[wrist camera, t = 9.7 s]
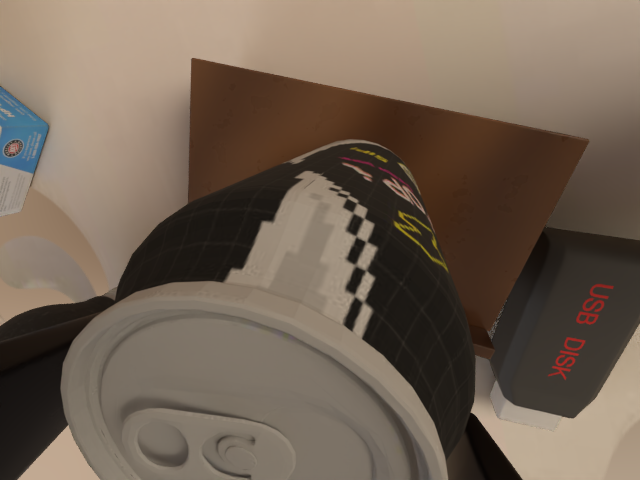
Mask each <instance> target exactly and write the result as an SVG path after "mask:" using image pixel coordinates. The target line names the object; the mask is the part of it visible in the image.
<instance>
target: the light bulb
mask: <svg viewBox="0 0 640 480" xmlns="http://www.w3.org/2000/svg"><path fill="white" fill-rule="evenodd" d="M117 288H118V287H116V288H114V289H112V290H110V291H109V292H107V293H105V294H104V295H102V296H98V297H94V298H92V299H89V300H87V301H84V302H79V303H72V304H58V305H49V306H43V307H39V308H35V309H32V310H29V311H27V312H24V313H21V314H19V315H17V316H15V317H13V318H12V319H10V320H9V321H7V322H6V323H4V324H3V325H1V326H0V342H1V341H4V340H7V339H11V338H14V337H18V336H21V335H24V334H28V333H31V332H35V331H38V330H41V329H45V328H48V327H51V326H55V325H58V324H62V323H65V322H68V321H72V320H75V319H78V318H82V317H85V316H89V315H92V314H95V313H99V312H102V311H105V310H106V309H108V308H109V307H111V306H113V305H114V302H115V297H116V291H117Z"/></svg>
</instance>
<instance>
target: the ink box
mask: <svg viewBox="0 0 640 480" xmlns="http://www.w3.org/2000/svg"><path fill="white" fill-rule="evenodd" d="M48 129H49V126H48V124H47V123H46V122H44V121H43V120H42V119H41V118H39V117H38V116H37V115H36V114H34V113H33V112H32V111H31V110H29V109H28V108H27V107H26V106H24V105H23V104H22V103H21V102H19V101H18V100H17V99H16V98H14V97H13V96H12V95H11V94H9V93H8V92H7V91H6V90H4V89H3V88H2V87H0V217H1V216H5V215H9V214H13V213H18V212H20V211H21V210H22V208H23V205H24V201H25V199H26V196H27V193H28V190H29V187H30V184H31V181H32V178H33V175H34V172H35V168H36V165H37V162H38V159H39V156H40V153H41V150H42V147H43V144H44V141H45V138H46V135H47V132H48Z"/></svg>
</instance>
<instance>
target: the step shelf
mask: <svg viewBox="0 0 640 480" xmlns="http://www.w3.org/2000/svg"><path fill="white" fill-rule="evenodd" d="M349 139H353V140H365V141H369V142H373V143H376V144H379V145H381V146H383V147H385V148H387V149H389V150H390V151H392V152H393V153H394V154H395V155H397V156H398V157H399V158H400V159H401V160H402V161H403V162H404V163H405V165H406V166H407V167H408V168H409V170H410V171H411V173H412V175H413V177H414V179H415V181H416V183H417V186H418V189H419V191H420V194H421V197H422V199H423V202H424V205H425V207H426V210H427V213H428V215H429V218H430V221H431V223H432V226H433V229H434V231H435V234H436V236H437V239H438V242H439V244H440V247H441V250H442V252H443V255H444V258H445V260H446V263H447V266H448V268H449V271H450V274H451V276H452V279H453V282H454V284H455V287H456V290H457V292H458V295H459V298H460V300H461V303H462V306H463V308H464V311H465V314H466V318H467V322H468V326H469V330H470V334H471V338H472V342H473V346H474V351H475V355H477V356H480V357H483V358H487V359H491V357H492V355H493V354H494V352H495V348H494V346H493V344H492V342H491V339H490V337H489V335H488V333H487V331H490V330H491V328H492V326H493V324H494V322H495V320H496V319H497V317H498V315H499V313H500V311H501V309H502V307H503V305H504V303H505V301H506V299H507V298H508V296H509V294H510V292H511V290H512V288H513V286H514V284H515V282H516V280H517V278H518V277H519V275H520V273H521V271H522V269H523V267H524V265H525V263H526V261H527V259H528V257H529V256H530V254H531V252H532V250H533V248H534V246H535V244H536V242H537V240H538V238H539V236H540V235H541V233H542V231H543V229H544V227H545V225H546V223H547V221H548V219H549V217H550V215H551V214H552V212H553V210H554V208H555V206H556V204H557V202H558V200H559V198H560V196H561V194H562V193H563V191H564V189H565V187H566V185H567V183H568V181H569V179H570V177H571V175H572V173H573V171H574V170H575V168H576V166H577V164H578V162H579V160H580V158H581V156H582V154H583V152H584V150H585V149H586V147H587V145H588V143H589V139H585V138H580V137H575V136H571V135H566V134H561V133H556V132H551V131H546V130H541V129H537V128H532V127H527V126H522V125H517V124H512V123H507V122H502V121H498V120H493V119H488V118H483V117H478V116H473V115H468V114H463V113H459V112H454V111H449V110H444V109H439V108H434V107H429V106H425V105H420V104H415V103H410V102H405V101H400V100H395V99H390V98H386V97H381V96H376V95H371V94H366V93H361V92H356V91H352V90H347V89H342V88H337V87H332V86H327V85H322V84H317V83H313V82H308V81H303V80H298V79H293V78H288V77H283V76H278V75H274V74H269V73H264V72H259V71H254V70H249V69H244V68H240V67H235V66H230V65H225V64H220V63H215V62H210V61H205V60H201V59H196V58H192V59H191V101H190V144H189V187H188V204H189V203H190V202H192V201H194V200H196V199H199V198H201V197H203V196H206V195H208V194H211V193H213V192H215V191H218V190H220V189H223V188H225V187H227V186H230V185H232V184H234V183H237V182H239V181H242V180H244V179H246V178H249V177H251V176H253V175H256V174H258V173H261V172H263V171H265V170H268V169H270V168H273V167H275V166H277V165H280V164H282V163H284V162H287V161H289V160H292V159H294V158H296V157H299V156H301V155H303V154H306V153H308V152H311V151H313V150H315V149H318V148H320V147H323V146H325V145H328V144H330V143H333V142H336V141H342V140H349Z"/></svg>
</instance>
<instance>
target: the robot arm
mask: <svg viewBox="0 0 640 480" xmlns="http://www.w3.org/2000/svg"><path fill="white" fill-rule="evenodd" d="M102 312H103V311H102ZM102 312H99V313H95V314H92V315H89V316H85V317H82V318H78V319H75V320H72V321H68V322H65V323H62V324H58V325H55V326H51V327H48V328H45V329H41V330H38V331H35V332H31V333H28V334H24V335H21V336H18V337H14V338H11V339H7V340H4V341H1V342H0V480H17V479H18V478H19V477H20V476H21V475H22V474H23V473H24V472H25V471H26V470H27V469H28V468H29V466H30V465H31V464H32V463H33V462H34V461H35V460H36V459H37V458H38V457H39V456H40V455H41V454H42V453H43V451H44V450H45V449H46V448H47V447H48V446H49V445H50V444H51V443H52V442H53V441H54V440H55V439H56V438H57V436H58V435H59V434H60V433H61V432H62V431H63V430H64V429H65V428H66V427H67V426H68V422H67V420H66V417H65V414H64V408H63V402H62V395H61V389H60V387H61V377H62V368H63V362H64V360H65V358H66V355H67V353H68V351H69V348H70V346H71V344H72V342H73V340H74V339H75V338H76V337H77V336H78V335H79V334H80V332H81V331H82V330H83V329H84V328H85V327H86V326H87V325H88V324H89V323H90V322H91V321H92V319H93V318H94V317H96V316H97V315H99V314H100V313H102ZM446 467H447V474H448V480H523V479H522V478H521V477H520V475H519V474H518V473H517V471H516V470H515V468H514V467H513V466H512V464H511V463H510V462H509V460H508V459H507V458H506V456H505V455H504V454H503V452H502V451H501V449H500V448H499V447H498V445H497V444H496V443H495V441H494V440H493V439H492V437H491V436H490V435H489V433H488V432H487V431H486V429H485V428H484V426H483V425H482V424H481V422H480V421H479V420H478V418H477V417H476V416H475V415H474V414H473V413H470V415H469V419H468V422H467V425H466V428H465V431H464V433H463V435H462V437H461V439H460V441H459V442H458V444H457V445H456V447H455V448H454V450H453V451H452V453H451V454H450V456H449V457H448V459H447V460H446Z"/></svg>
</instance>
